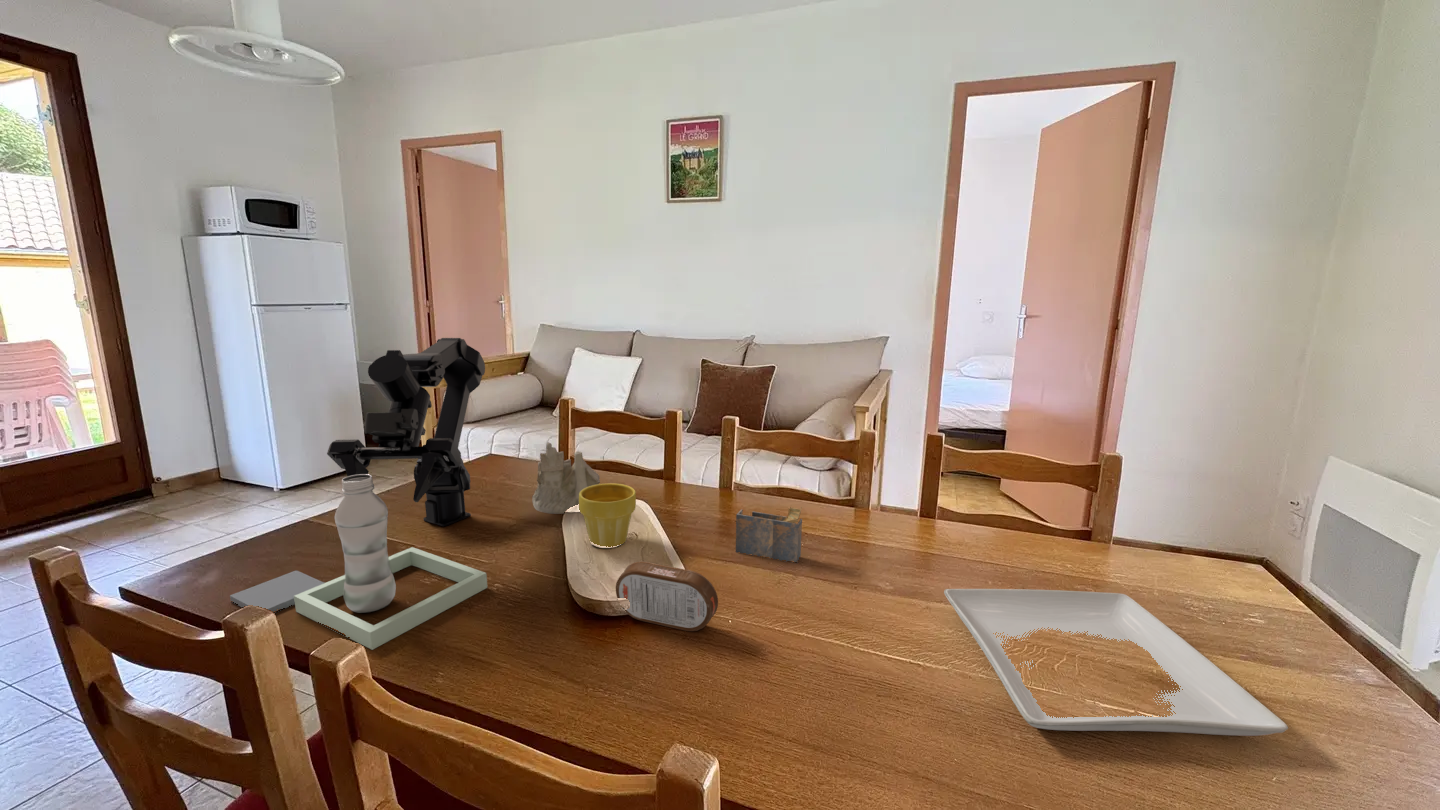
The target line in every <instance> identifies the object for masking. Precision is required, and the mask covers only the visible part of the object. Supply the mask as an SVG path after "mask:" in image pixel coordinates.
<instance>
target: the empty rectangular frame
mask: <svg viewBox="0 0 1440 810" xmlns="http://www.w3.org/2000/svg"><path fill="white" fill-rule="evenodd" d="M388 558H389V563H390V568H391V572H392V574H395V573H397V572H399V571H400V570H403V569H405V568H408V567H411V566H413V567H416V568H419V569H421V570H425V571H426V572H429V573H432V574H435V575H437V576H441V577H443V578H445V579H449V580H450V581H453V582H456V583H455V584H453V585H451V586H448V587H447V588H445V589H443V590H441V591H439V592H437V593H436V594H433V595H431V596H429V597H427V598H426V599H423V600H421V601H419V602H418V603H416V604H413V605H411V606H410V607H407V608H405V609H404V610H402V611H400V612H397V613H396V614H393V615H391V616H389V617H388V618H386V619H384V620H382V621H380V622H378V623H376V624H372V623H369V622H368V621H365V620H363V619H361V618H359V617H357V616H354V615H352V614H350V613H348V612H346V611H343V610H341V609H340V608H337V607H336V606H333V605H331V604H328V602H331V601H332V600H336V599H338V598H339V597H342V596H343V593H344V582H345V574H343V575H341V576H339V577H336V578H334V579H332V580H329V581H327V582H324V584H321V585H319V586H317V587H314V588H312V589H309V590H307V591H304V592H302V593H300V594H297V595H295V596H294V601H295V604H294V606H295V607H294V608H295V612H296V613H298V614H300V615H302V616H304V617H306V618H308V619H310V620H312V621H313V622H316V623H318V622H319V623H318V624H320V623H321V624H320V625H322V624H324V625H327V626H329V627H331V628H334V629H336V630H338V631H339V632H341V633H344V634H345V635H346V636H345V637H346V638H348V637H350V638H349V639H350V640H352V641H354V642H356V643H358V644H360V645H362V646H364V647H365V648H368V649H370V650H372V651H373V650H375V649H377V648H378V647H380V646H382V645H383V644H386V643H388V642H390V641H391V640H393V639H395V638H397V637H399V636H400V635H403V634H404V633H406V632H408V631H410V630H411V629H413V628H415V627H417V626H419V625H420V624H423V623H425V622H426V621H429V620H431V619H432V618H434V617H436V616H437V615H439V614H441V613H443V612H445V611H446V610H449V609H450V608H452V607H455V606H456V605H458V604H459V603H462V602H463V601H465V600H467V599H469V598H471V597H473V596H475V595H476V594H478V593H480V592H482V591H484V590H486V589H488V576H487V572H485V571H483V570H479V569H476V568H473V567H470V566H467V565H465V564H462V563H459V562H456V561H454V560H451V559H447V558H445V557H442V556H440V555H436V554H433V553H430V552H427V551H425V550H422V549H419V548H415V547H413V546H411V547H409V548H406V549H404V550H402V551H399V552H396V553H394V554H392V555H388ZM324 625H323V626H324Z"/></svg>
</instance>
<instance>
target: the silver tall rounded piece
mask: <svg viewBox="0 0 1440 810" xmlns="http://www.w3.org/2000/svg"><path fill="white" fill-rule="evenodd" d="M373 480H374V479H373V476H372V475H371V474H369V473H368V474H358V475H352V476H348V477H347V476H345V477H343V478H342V479H341V486H342V489H341V491H342V492H341V493H342V494H343V495H344V497H343V499H342V500H341V501H340V502H339V504H338V506H337V509H336V510H335V514H334V522H335V525H336V529H337V532H338V533H337V534H338V536H339V539H340V542H341V548H342V552H343V559H344V575H345V582H344V593H343V595H342V596H343V600H344V603H345V605H346V607H347V608H348V609H349V610H350V611H351V612H354V613H357V614H362V613H371V612H375V611H379V610H381V609H383V608H386V607H387V606H389V605H390V604H391V602H392V601H393V600H394V598H395V596H396V588H397V585H396V581H395V577H394V573H392V572H391V568H390V563H389V558H388V557H389V554H388V545H387V544H388V539H387V538H388V536H387V535H388V534H387V532H388V519H389V517H388V515H389V509H388V506H387V505H386V503H385V502H384V500H383V499H382V498H381V497H379V496H378V495H377V494H376V493H375V492H374V491H373V490H375V484H374V481H373Z"/></svg>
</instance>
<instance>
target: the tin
mask: <svg viewBox="0 0 1440 810" xmlns="http://www.w3.org/2000/svg"><path fill="white" fill-rule="evenodd" d="M615 595H616V598H626V599H628V600H629V602H630V608H629V609H627V610H625V611H626V612H625V611H624V612H625V613H626V615H627V614H628V616H630V617H631V618H633V619H635V620H638V621H641V622H645V623H649V624H655V625H658V626H663V627H668V628H671V629H672V628H673V629H677V630H680V631H686V632H697V631H699V630H702V629H703V628H705V627H706V626H707V625H708V624H709V623H710V622H711V620H712V617H714V616H715V614H716V613H717V610H718V608H719V598H718V594H717V591H716V589H715V587H714V586H713V584H712V582H711V581H710V580H709V579H707V578H706V576H704V575H702V574H700V573H699V572H696V571H693V570H690V569H684V568H678V567H673V566H667V565H664V564H658V563H653V562H649V561H636V562H635V561H634V562H633V563H631V564H629V565H628V566H627V567H626V568H625V570H624V571H623V572H622V573H621V574H620V576H619V577H618V578H617V580H616V584H615Z"/></svg>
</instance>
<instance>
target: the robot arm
mask: <svg viewBox="0 0 1440 810" xmlns="http://www.w3.org/2000/svg"><path fill="white" fill-rule="evenodd" d="M485 372H486V364H485V359H483V357H482V355H481V353H480V352H479V350H477V349H476V348H473V347H472V346H470V345H469V344H468V343H467V342H466V340H465V339H464V338H461V337H441V338H438V339H437V340H436V342H435V343H433V344H432V345H431V346H429V347H427V348H426V349H424V350H423V351H421V352H418V353H417V352H416V353H405V354H403V353H402V351H401V350H400V349H396V350H395V349H388V350H387V351H386V353H385V355H382V356H380V357H378V358H376V359H375V360H374V361H373V362H372V363H370V364H369V366H368V368H367V374H368V377H369V378H370V379H371V381H372V382H373V383H374V385H375V387H376V388H377V389H378V391H379V392H380V394H381V395H382V397H384V399H386V400H387V401H389V402H390V404H389V408H388V411H387V412H385V411H384V412H366V413H365V421H364V422H365V423H364V431H363V432H364V434H365V435H368V434H369V435H372V439H371V440H372V442H374V444H378V447H373V446H371V447H366V446H365V445H364V444H363V443H362V441H361V440H359V439H335V440H334V441H332V442H331V443H330V444H329V446H328V449H327V452H326V455H327V456H328V457H329V458H330V459H332V461H333V462H335V464H337V466H339V468H340V469H343V470H345V472H346V477H348V476H352V475H358V474H369V472H370V471H369V470H368V469H367V467H369V466H370V462H371V460H406V459H407V460H409V459H410V460H411V459H413V460H415V459H416V464H415V466H414V468H413V478H414V482H415V487H414V488H415V489H414V490H413V491H414V492H413V501H414V502H415V503H419V502H420V500H421V499H422V498H423V497H424V495H425V496H426V497H425V499H426V500H425V501H424V506H425V507H424V509H425V517H423V521H425V522H427V523H431V524H434V525H436V526H437V525H438V526H441V527H446V526H449V525H452V524H455V523H457V522H460V521H463V520H464V519H467V518H469V517H471V516H472V514H471V513H470V512H466V505H465V504H466V503H465V491H470V490H471V475H470V473H469V471H468V469H467V468H466V466H465V465H464V460H463V458H462V452H461V451H460V449H459V445H460V440H461V436H462V431H463V426H464V423H465V419H466V418H465V417H466V413H467V409H468V408H467V407H468V404H469V398H470V395H471V393H472V392H473V391H475V390H476V389H477V388H478V387H480V384H481V381H482V378H483V376H484V375H485ZM443 380H444V381H445V384H446V388H445V392H444V396H443V400H442V404H441V409H440V412H439V417H438V420H437V421H438V422H437V425H436V429H435V432H434V436H433V437H431V438H430V437H429V438H427V440H426V442H425V444H423V445H422V446H420V443H421V438H422V436H425V434H426V432H427V431H426V428H425V427H424V425H425V422H426V416H427V414H428V413H427V412H428V409H431V408H432V406H433V405H432V401H431V395H430V393H429V392H428V390H427V389H425V388H436V387H438V386H439V385H440V384H441V382H442V381H443Z"/></svg>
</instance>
